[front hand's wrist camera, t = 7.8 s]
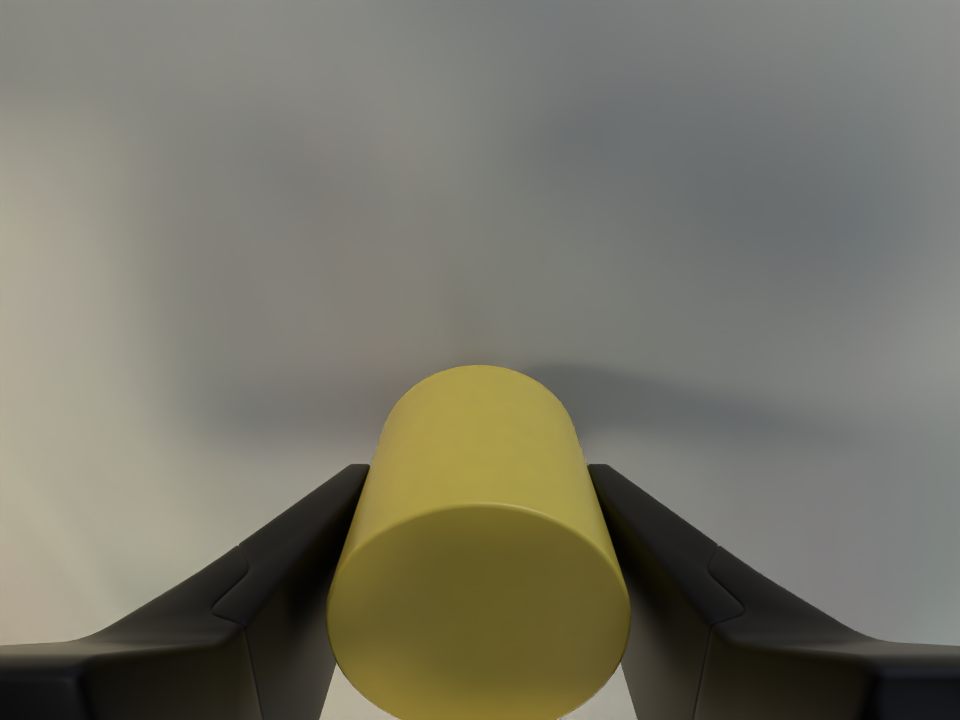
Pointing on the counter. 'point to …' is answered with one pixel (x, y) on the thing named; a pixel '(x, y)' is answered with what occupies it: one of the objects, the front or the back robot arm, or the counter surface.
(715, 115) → the counter surface
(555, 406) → the cylinder
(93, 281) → the counter surface
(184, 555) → the counter surface
